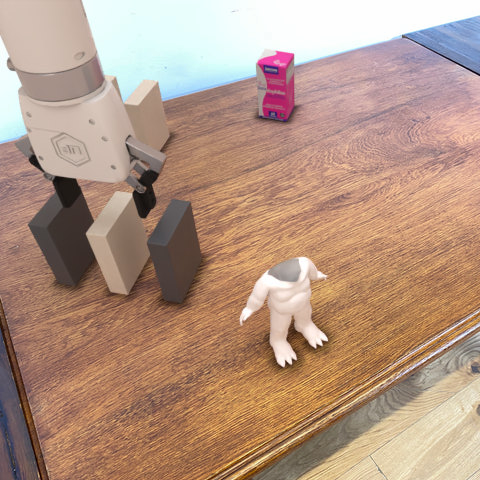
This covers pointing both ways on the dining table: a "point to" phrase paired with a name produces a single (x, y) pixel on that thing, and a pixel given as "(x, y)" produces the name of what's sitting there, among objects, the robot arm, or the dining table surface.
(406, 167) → the dining table surface
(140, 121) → the white book
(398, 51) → the dining table surface
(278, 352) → the toy creature
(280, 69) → the supplement box
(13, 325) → the dining table surface
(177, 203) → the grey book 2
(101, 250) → the white book
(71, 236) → the dark grey block
